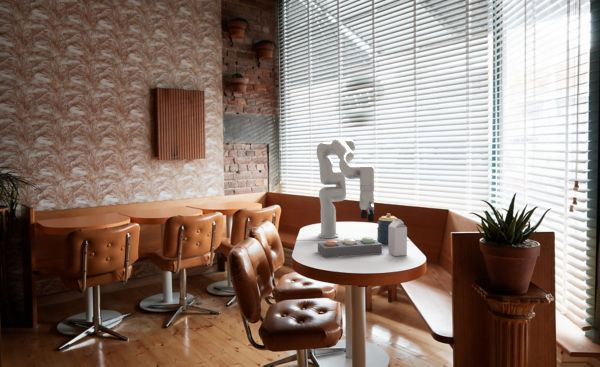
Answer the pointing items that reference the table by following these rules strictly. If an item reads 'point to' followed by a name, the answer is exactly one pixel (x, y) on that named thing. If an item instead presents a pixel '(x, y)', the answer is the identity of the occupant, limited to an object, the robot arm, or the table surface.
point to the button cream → (349, 241)
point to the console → (349, 249)
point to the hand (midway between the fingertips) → (367, 219)
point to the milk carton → (397, 238)
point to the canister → (384, 228)
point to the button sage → (367, 240)
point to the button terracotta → (330, 243)
